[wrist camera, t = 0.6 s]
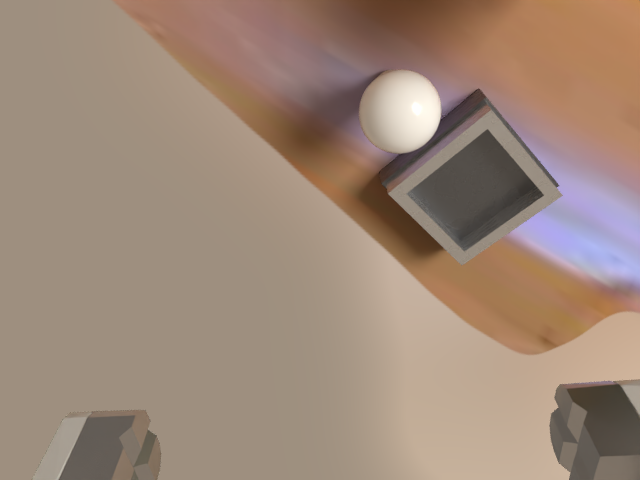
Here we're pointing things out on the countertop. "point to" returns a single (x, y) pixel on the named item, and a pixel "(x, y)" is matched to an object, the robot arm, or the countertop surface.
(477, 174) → the socket
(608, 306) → the countertop surface
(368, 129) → the lightbulb
